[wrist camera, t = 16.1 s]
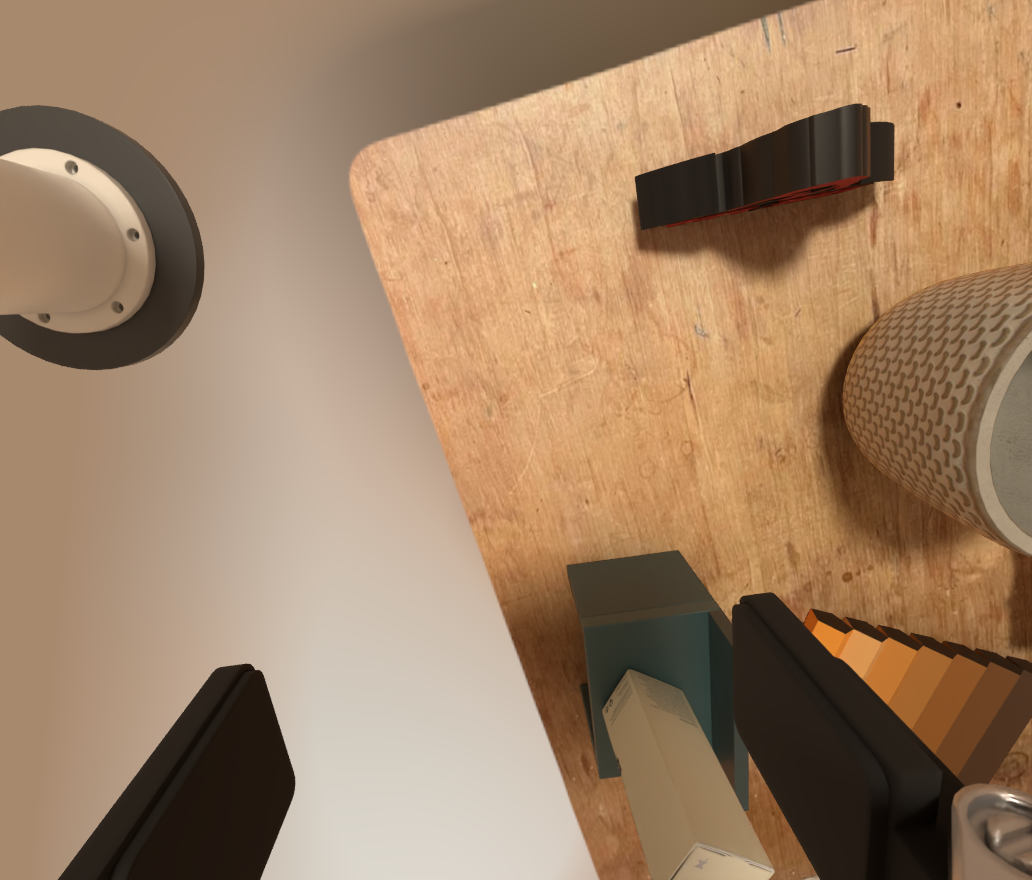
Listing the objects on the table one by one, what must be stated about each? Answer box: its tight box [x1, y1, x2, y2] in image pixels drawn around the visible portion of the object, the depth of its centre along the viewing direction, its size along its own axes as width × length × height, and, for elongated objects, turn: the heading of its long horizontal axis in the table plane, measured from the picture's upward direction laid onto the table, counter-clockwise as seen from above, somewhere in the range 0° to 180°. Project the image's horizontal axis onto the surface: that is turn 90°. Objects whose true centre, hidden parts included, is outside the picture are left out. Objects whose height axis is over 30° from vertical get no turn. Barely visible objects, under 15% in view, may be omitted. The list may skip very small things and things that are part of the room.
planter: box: [842, 262, 1032, 557], centre depth 35 cm, size 17×17×16 cm
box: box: [602, 669, 775, 880], centre depth 33 cm, size 5×4×13 cm
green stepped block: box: [567, 550, 749, 811], centre depth 41 cm, size 10×14×13 cm
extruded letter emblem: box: [635, 104, 894, 230], centre depth 32 cm, size 18×4×11 cm, turn 101°
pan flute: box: [804, 609, 1032, 786], centre depth 51 cm, size 25×3×25 cm
